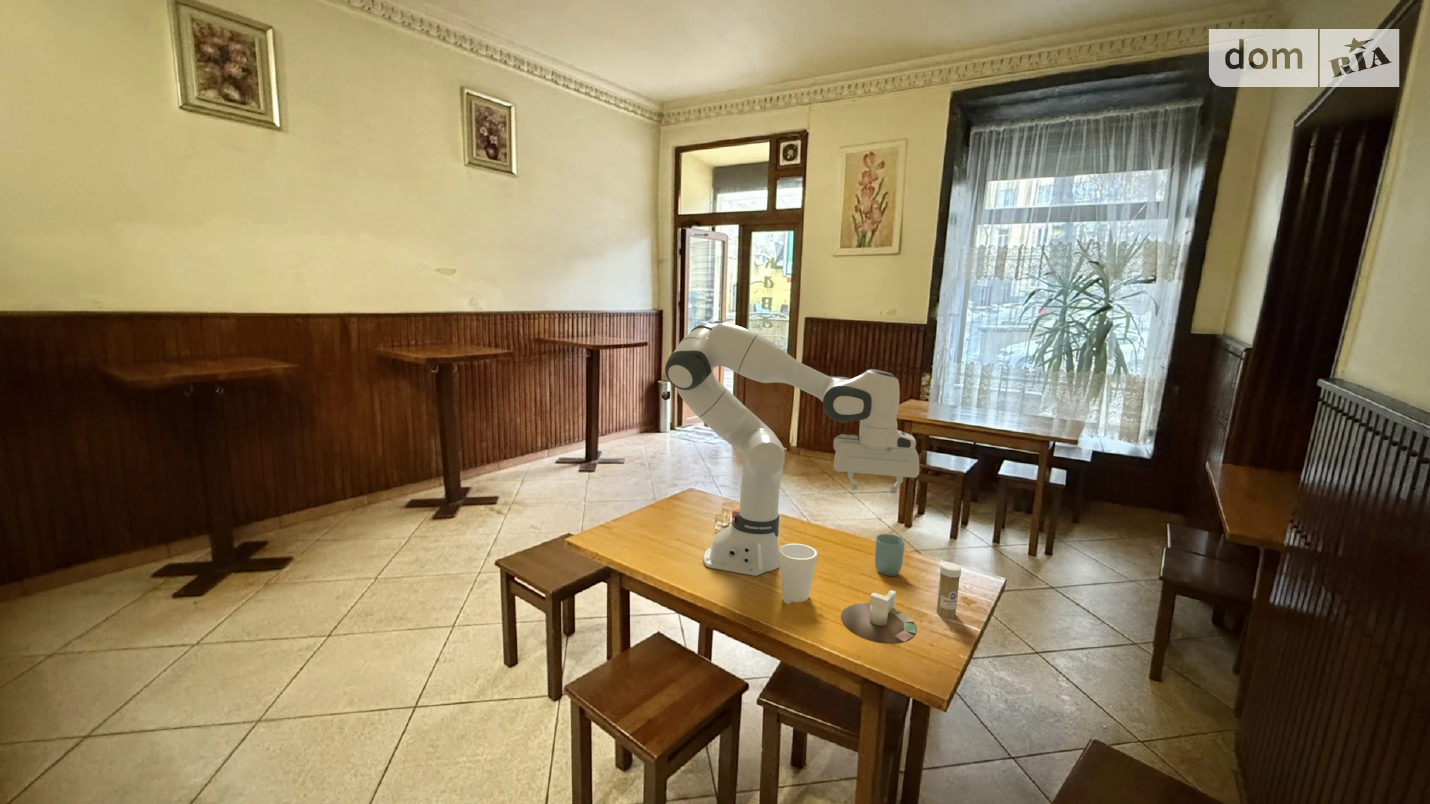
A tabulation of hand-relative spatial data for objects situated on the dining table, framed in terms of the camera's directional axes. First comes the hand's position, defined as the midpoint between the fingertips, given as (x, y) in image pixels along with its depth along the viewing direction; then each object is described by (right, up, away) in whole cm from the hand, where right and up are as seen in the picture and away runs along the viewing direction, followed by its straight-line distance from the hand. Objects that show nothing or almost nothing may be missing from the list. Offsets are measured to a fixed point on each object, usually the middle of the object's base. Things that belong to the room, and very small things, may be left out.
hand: (873, 491), depth 139 cm
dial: (-1, -30, -8) cm, 31 cm away
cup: (+9, -26, +19) cm, 34 cm away
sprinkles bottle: (+16, -30, -3) cm, 35 cm away
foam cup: (-19, -28, +3) cm, 34 cm away
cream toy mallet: (+1, -29, -6) cm, 29 cm away
